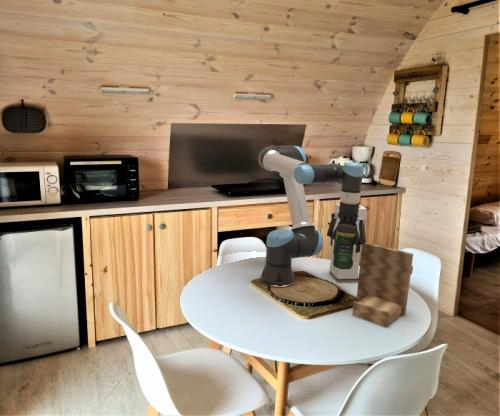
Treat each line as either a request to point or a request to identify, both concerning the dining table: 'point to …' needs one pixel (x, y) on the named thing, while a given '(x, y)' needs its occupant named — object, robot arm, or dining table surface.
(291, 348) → the dining table surface
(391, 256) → the wooden stand
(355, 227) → the coffee jar
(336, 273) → the grey seamed pillar
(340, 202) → the robot arm
